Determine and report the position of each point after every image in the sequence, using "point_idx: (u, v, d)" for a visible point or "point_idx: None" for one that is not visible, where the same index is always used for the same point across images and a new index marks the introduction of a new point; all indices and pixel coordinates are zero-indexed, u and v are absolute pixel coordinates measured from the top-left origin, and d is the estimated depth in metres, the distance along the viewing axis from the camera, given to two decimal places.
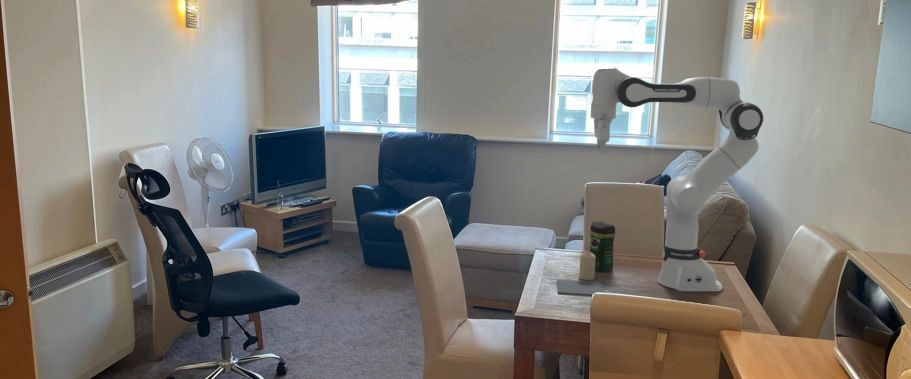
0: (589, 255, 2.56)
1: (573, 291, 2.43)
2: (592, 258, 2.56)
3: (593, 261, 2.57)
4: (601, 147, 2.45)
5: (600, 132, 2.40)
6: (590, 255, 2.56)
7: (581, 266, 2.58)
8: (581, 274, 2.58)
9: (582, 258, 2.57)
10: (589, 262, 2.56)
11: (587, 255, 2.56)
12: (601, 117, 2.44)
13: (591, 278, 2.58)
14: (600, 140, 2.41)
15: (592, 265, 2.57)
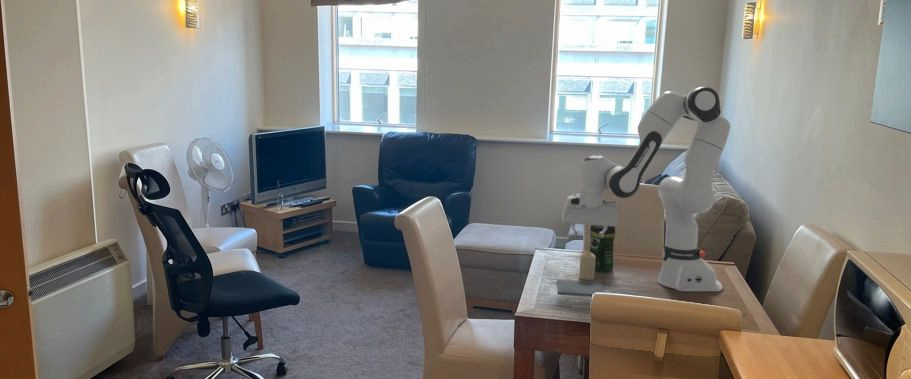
0: (589, 255, 2.56)
1: (573, 291, 2.43)
2: (592, 258, 2.56)
3: (593, 261, 2.57)
4: None
5: (617, 217, 2.53)
6: (590, 255, 2.57)
7: (581, 266, 2.58)
8: (581, 274, 2.58)
9: (582, 258, 2.57)
10: (589, 262, 2.56)
11: (587, 255, 2.56)
12: (603, 203, 2.53)
13: (591, 278, 2.58)
14: None
15: (592, 265, 2.57)
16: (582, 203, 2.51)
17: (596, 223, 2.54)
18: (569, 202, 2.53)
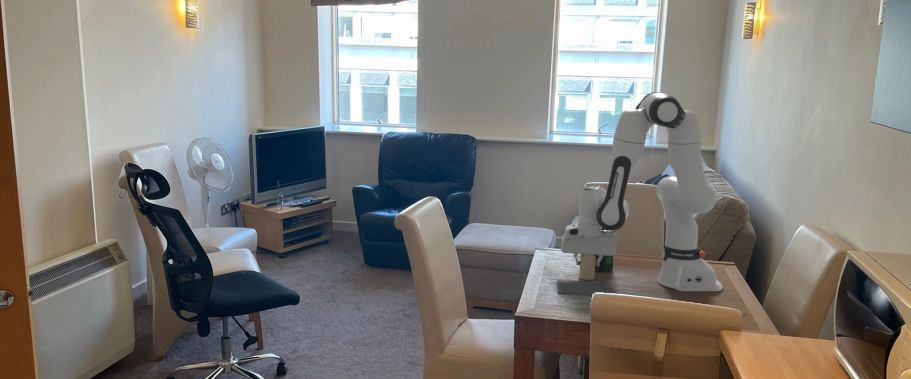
0: (589, 255, 2.56)
1: (573, 291, 2.43)
2: (592, 258, 2.56)
3: (593, 261, 2.57)
4: None
5: None
6: (590, 255, 2.56)
7: (581, 266, 2.58)
8: (581, 274, 2.58)
9: (582, 258, 2.57)
10: (589, 262, 2.56)
11: (587, 255, 2.56)
12: (601, 233, 2.55)
13: (591, 278, 2.58)
14: None
15: (592, 265, 2.57)
16: (580, 233, 2.53)
17: (595, 253, 2.56)
18: (568, 233, 2.55)
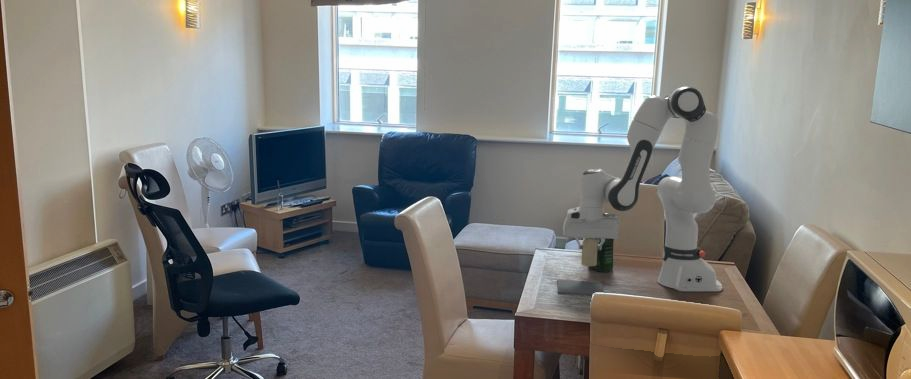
0: (591, 241, 2.55)
1: (573, 291, 2.43)
2: (594, 244, 2.55)
3: (596, 247, 2.56)
4: None
5: None
6: (592, 241, 2.55)
7: (583, 252, 2.57)
8: (583, 260, 2.57)
9: (584, 244, 2.56)
10: (591, 248, 2.55)
11: (589, 241, 2.55)
12: (603, 216, 2.54)
13: (593, 264, 2.57)
14: None
15: (594, 251, 2.56)
16: (582, 217, 2.52)
17: (597, 236, 2.55)
18: (569, 216, 2.53)
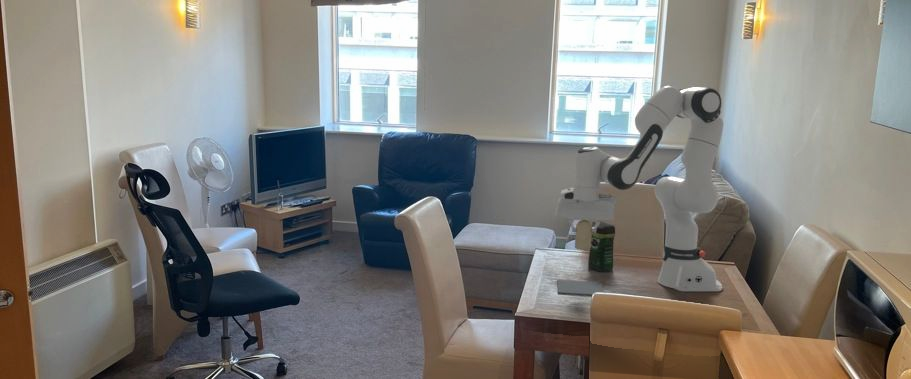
0: (585, 223, 2.41)
1: (573, 291, 2.43)
2: (589, 227, 2.41)
3: (590, 230, 2.42)
4: None
5: None
6: (586, 223, 2.41)
7: (577, 235, 2.43)
8: (577, 244, 2.43)
9: (578, 227, 2.42)
10: (585, 231, 2.41)
11: (583, 223, 2.41)
12: (598, 197, 2.40)
13: (587, 248, 2.43)
14: None
15: (588, 234, 2.42)
16: (576, 197, 2.38)
17: (591, 218, 2.41)
18: (563, 197, 2.39)
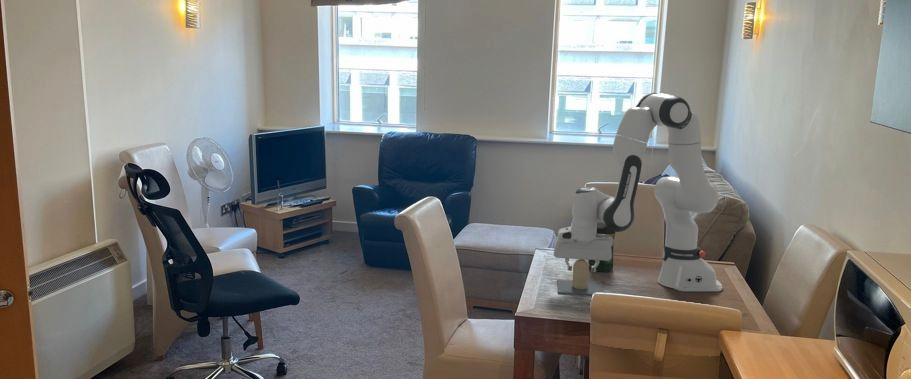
0: (582, 263, 2.44)
1: (573, 291, 2.43)
2: (586, 266, 2.44)
3: (587, 269, 2.44)
4: None
5: (611, 251, 2.42)
6: (584, 263, 2.44)
7: (574, 275, 2.46)
8: (574, 283, 2.46)
9: (575, 266, 2.45)
10: (583, 270, 2.44)
11: (580, 263, 2.44)
12: (596, 237, 2.43)
13: (585, 287, 2.45)
14: None
15: (586, 273, 2.44)
16: (574, 237, 2.41)
17: (589, 257, 2.43)
18: (560, 236, 2.42)
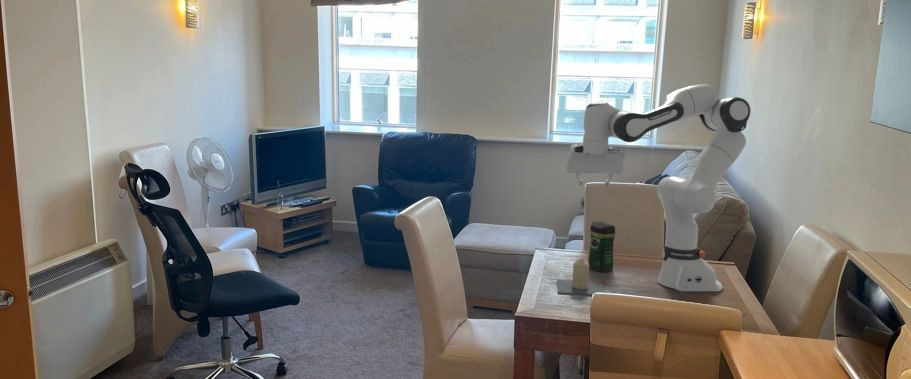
0: (582, 263, 2.44)
1: (573, 291, 2.43)
2: (586, 266, 2.44)
3: (587, 269, 2.44)
4: None
5: (622, 164, 2.47)
6: (583, 263, 2.44)
7: (574, 275, 2.46)
8: (574, 283, 2.46)
9: (575, 266, 2.45)
10: (582, 270, 2.44)
11: (580, 263, 2.44)
12: (607, 151, 2.47)
13: (585, 287, 2.45)
14: None
15: (586, 273, 2.44)
16: (586, 151, 2.45)
17: (601, 171, 2.48)
18: (573, 150, 2.46)
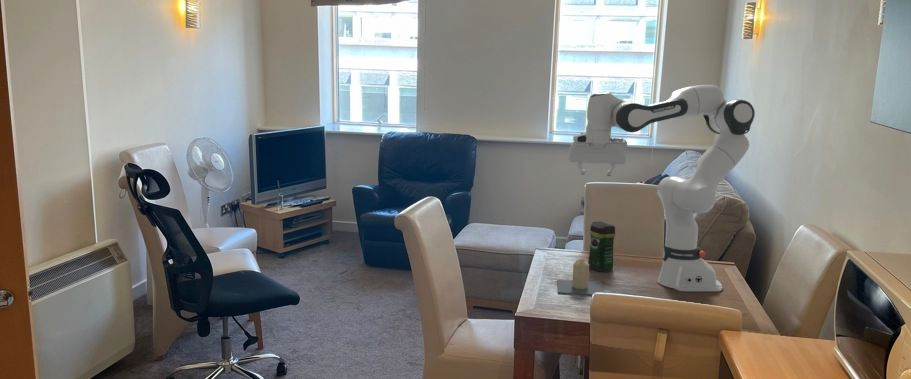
0: (582, 263, 2.44)
1: (573, 291, 2.43)
2: (586, 266, 2.44)
3: (587, 269, 2.44)
4: None
5: None
6: (583, 263, 2.44)
7: (574, 275, 2.46)
8: (574, 283, 2.46)
9: (575, 266, 2.45)
10: (582, 270, 2.44)
11: (580, 263, 2.44)
12: (610, 141, 2.49)
13: (585, 287, 2.45)
14: (624, 162, 2.49)
15: (586, 273, 2.44)
16: (589, 140, 2.47)
17: (603, 161, 2.49)
18: (575, 140, 2.48)
